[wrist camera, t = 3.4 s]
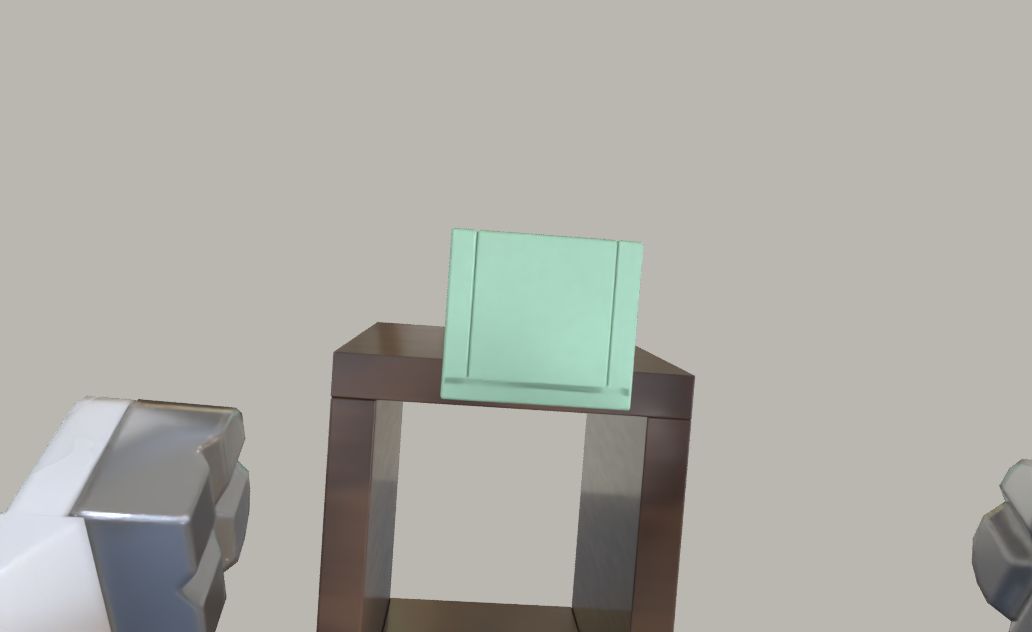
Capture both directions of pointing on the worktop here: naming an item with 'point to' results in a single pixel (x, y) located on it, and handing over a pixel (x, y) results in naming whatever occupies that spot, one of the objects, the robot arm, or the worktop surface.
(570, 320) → the storage tray
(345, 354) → the shelf stand
